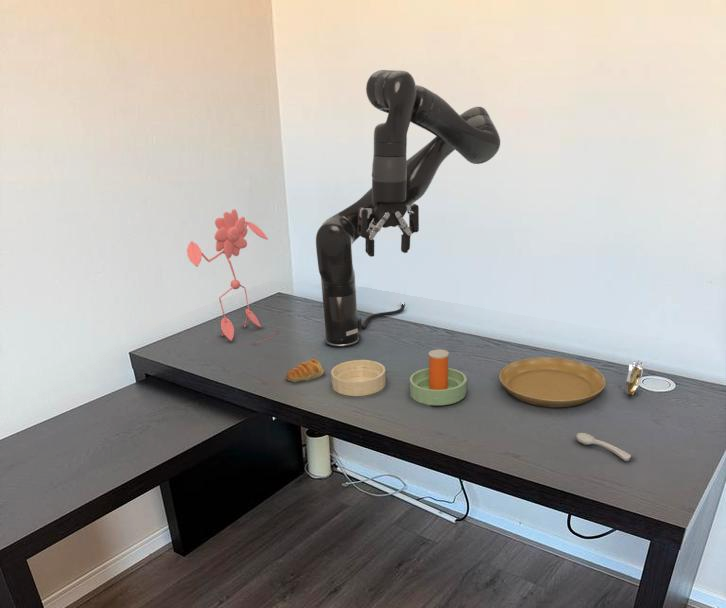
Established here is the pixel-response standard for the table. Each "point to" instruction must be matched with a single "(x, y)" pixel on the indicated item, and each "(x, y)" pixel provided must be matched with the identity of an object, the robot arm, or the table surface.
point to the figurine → (231, 242)
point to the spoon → (589, 440)
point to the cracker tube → (438, 369)
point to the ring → (637, 374)
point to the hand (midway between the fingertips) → (387, 253)
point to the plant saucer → (552, 381)
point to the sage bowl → (438, 397)
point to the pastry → (305, 371)
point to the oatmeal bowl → (358, 377)
